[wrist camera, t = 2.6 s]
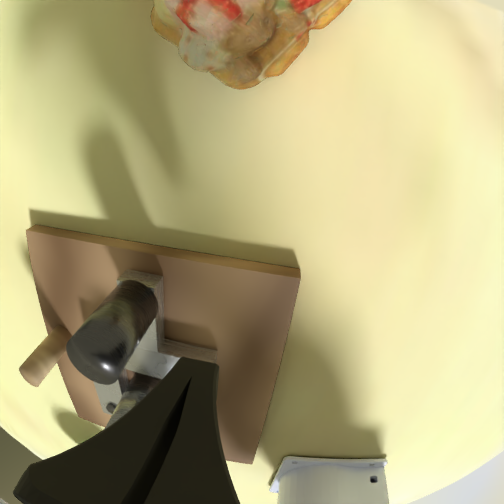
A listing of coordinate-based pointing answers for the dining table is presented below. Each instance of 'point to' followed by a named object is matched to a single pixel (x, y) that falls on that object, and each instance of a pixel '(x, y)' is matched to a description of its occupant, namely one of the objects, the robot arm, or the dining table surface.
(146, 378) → the post
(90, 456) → the robot arm
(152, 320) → the flange
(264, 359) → the board
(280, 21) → the topped waffle
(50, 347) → the dowel
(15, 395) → the dining table surface
